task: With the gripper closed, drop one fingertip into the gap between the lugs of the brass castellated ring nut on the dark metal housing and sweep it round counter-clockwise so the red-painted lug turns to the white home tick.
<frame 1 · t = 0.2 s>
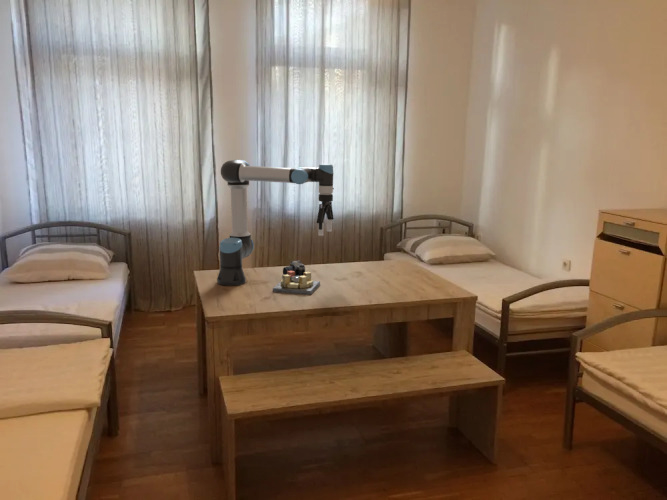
hand: (325, 233, 307), 27 cm above the table, fingers open, 13 cm apart
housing: (296, 288, 301), on the table
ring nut: (296, 279, 300), point 5 cm above the table, hinge at 0.0°
camera: (292, 278, 322), on the table
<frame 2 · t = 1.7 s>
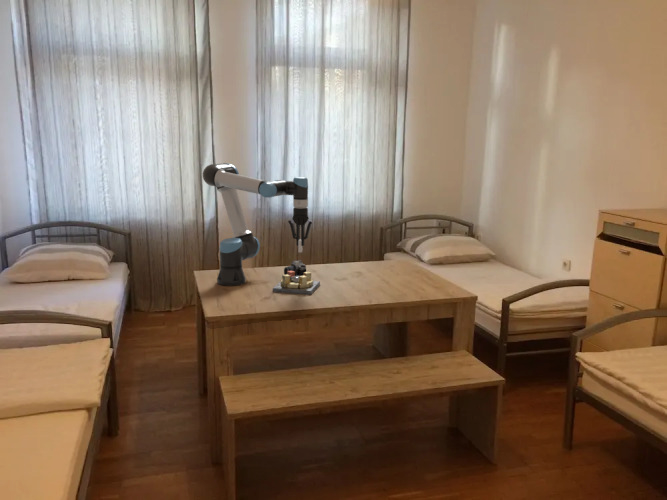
hand: (300, 251, 303), 18 cm above the table, fingers closed
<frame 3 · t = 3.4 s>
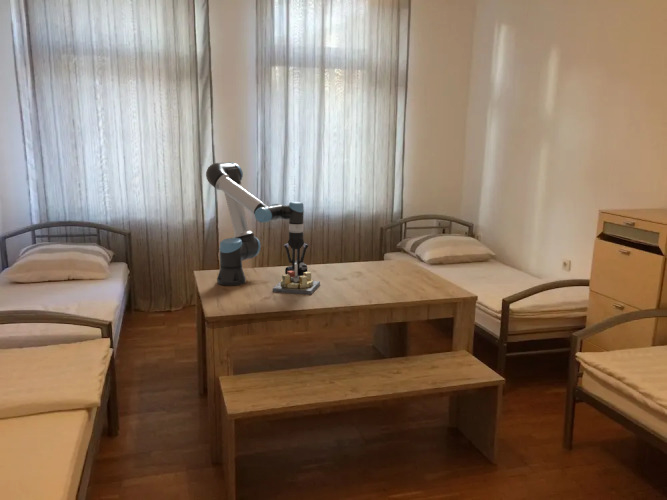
hand: (295, 275, 306), 5 cm above the table, fingers closed
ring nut: (296, 279, 300), point 5 cm above the table, hinge at 0.0°, touching gripper
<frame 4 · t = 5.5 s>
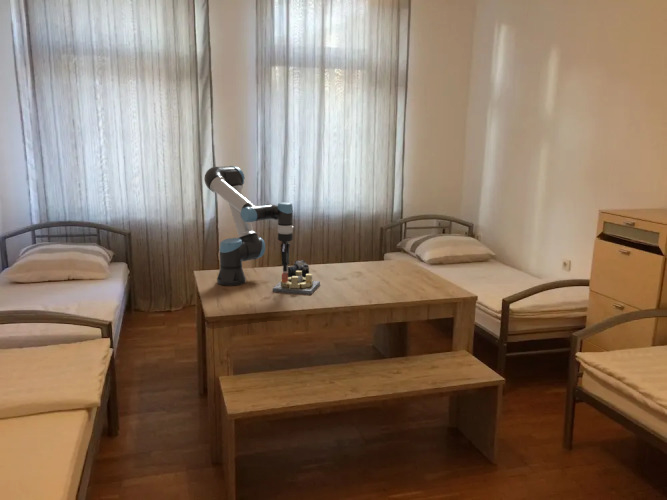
hand: (285, 276, 302), 6 cm above the table, fingers closed
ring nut: (296, 279, 300), point 5 cm above the table, hinge at 51.0°, touching gripper, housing
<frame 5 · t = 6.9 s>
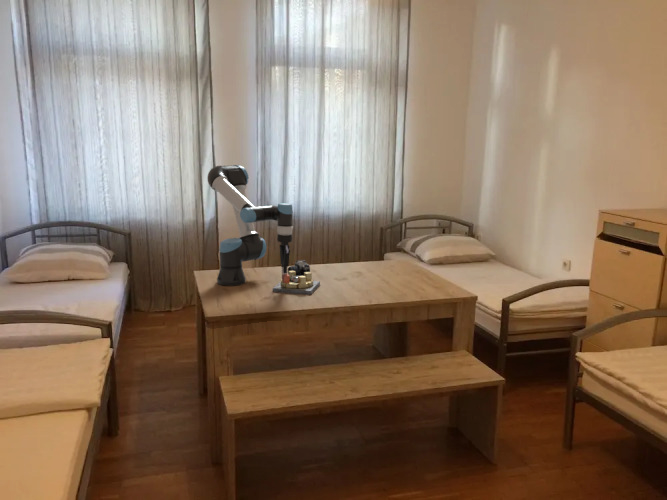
hand: (284, 278, 299), 5 cm above the table, fingers closed
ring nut: (296, 279, 300), point 5 cm above the table, hinge at 84.8°, touching gripper
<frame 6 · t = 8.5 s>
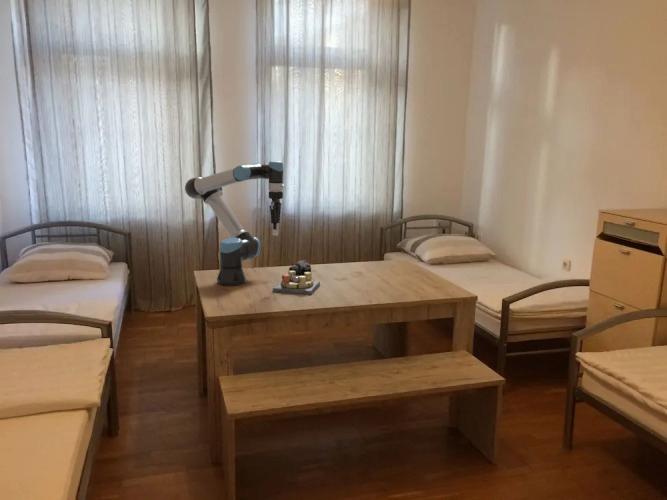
hand: (275, 235, 307), 26 cm above the table, fingers closed
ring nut: (296, 279, 300), point 5 cm above the table, hinge at 84.8°
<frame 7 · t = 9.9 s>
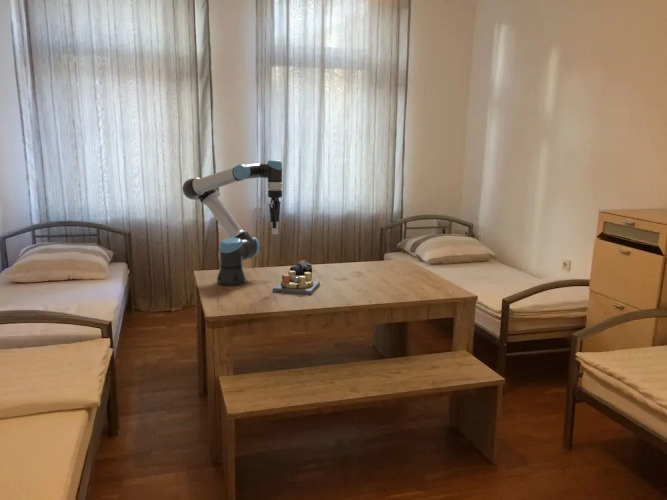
hand: (275, 233, 308), 26 cm above the table, fingers closed
at the end: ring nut at +85° (first picture: +0°) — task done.
